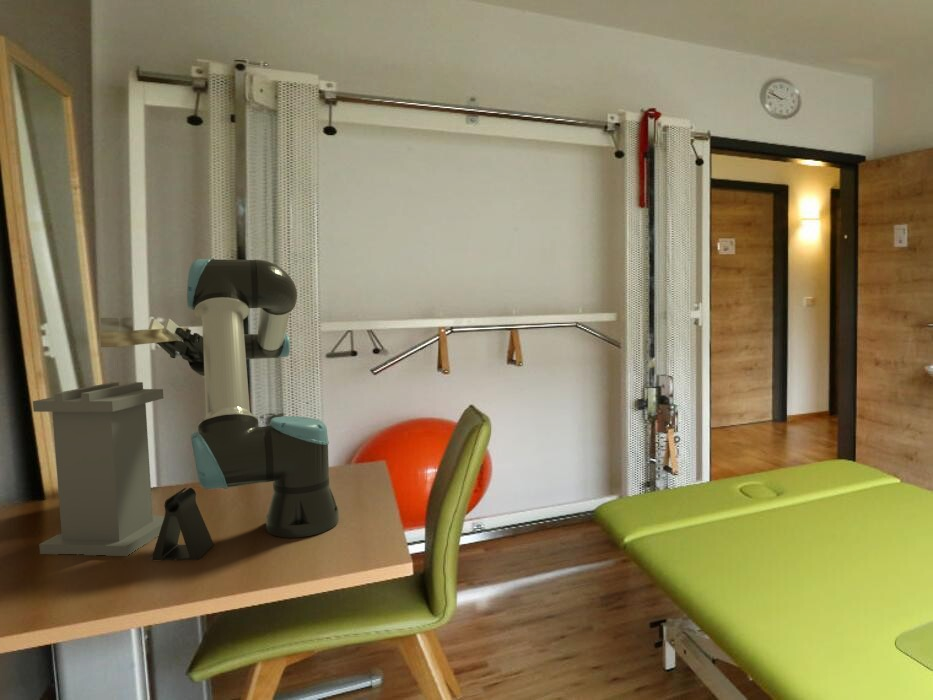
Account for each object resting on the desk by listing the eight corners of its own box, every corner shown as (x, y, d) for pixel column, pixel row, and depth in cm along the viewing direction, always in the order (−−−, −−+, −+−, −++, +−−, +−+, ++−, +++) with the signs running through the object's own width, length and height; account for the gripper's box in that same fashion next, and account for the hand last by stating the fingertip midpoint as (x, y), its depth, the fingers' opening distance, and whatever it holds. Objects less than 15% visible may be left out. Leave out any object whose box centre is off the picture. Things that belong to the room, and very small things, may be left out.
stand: (98, 523, 121) (88, 382, 119) (175, 525, 120) (167, 382, 117) (40, 554, 106) (27, 393, 104) (127, 556, 105) (116, 393, 102)
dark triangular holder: (214, 546, 109) (210, 487, 108) (199, 560, 103) (195, 497, 102) (168, 546, 109) (165, 487, 108) (151, 560, 103) (147, 498, 102)
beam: (176, 339, 138) (174, 315, 138) (191, 339, 138) (189, 315, 138) (98, 347, 113) (96, 318, 112) (116, 347, 112) (115, 317, 112)
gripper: (234, 376, 148) (187, 337, 126) (177, 376, 149) (121, 338, 128) (240, 351, 151) (195, 309, 130) (184, 351, 152) (131, 310, 131)
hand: (159, 323), depth 129 cm, fingers closed on beam, 3 cm apart
